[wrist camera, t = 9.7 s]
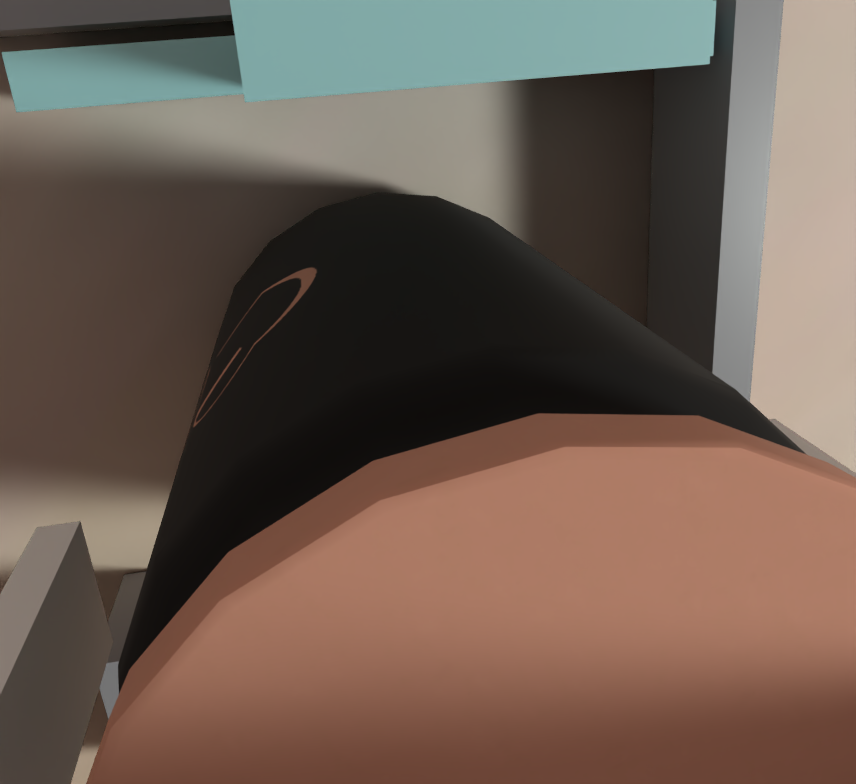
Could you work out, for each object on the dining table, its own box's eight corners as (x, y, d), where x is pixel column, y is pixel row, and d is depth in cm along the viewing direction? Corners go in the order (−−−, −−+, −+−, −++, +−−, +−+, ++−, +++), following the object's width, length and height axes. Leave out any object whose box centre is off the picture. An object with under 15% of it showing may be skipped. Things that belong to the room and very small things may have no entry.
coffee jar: (248, 149, 22) (116, 337, 6) (593, 228, 25) (1192, 520, 8) (196, 482, 26) (19, 1197, 9) (503, 523, 28) (800, 1148, 12)
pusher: (67, 106, 21) (-349, 150, 7) (52, 41, 20) (-432, -42, 7) (642, 60, 23) (1153, 28, 9) (644, -1, 22) (1192, -134, 9)
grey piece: (167, 744, 29) (147, 852, 25) (-28, -14, 20) (-113, -39, 16) (665, 658, 32) (720, 744, 28) (699, -60, 22) (791, -93, 18)
